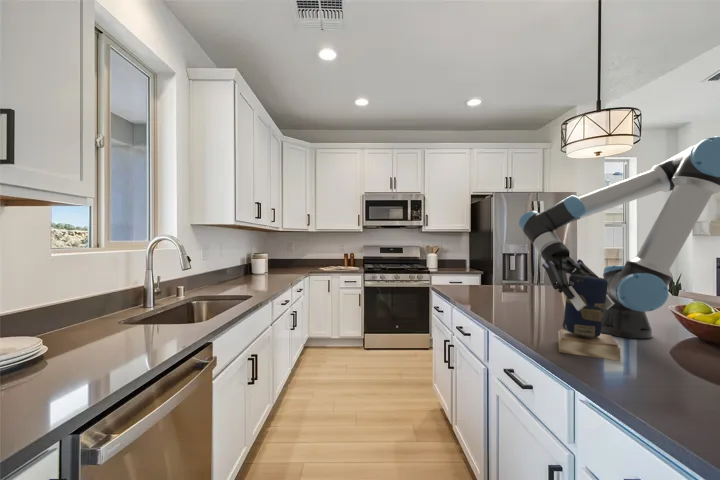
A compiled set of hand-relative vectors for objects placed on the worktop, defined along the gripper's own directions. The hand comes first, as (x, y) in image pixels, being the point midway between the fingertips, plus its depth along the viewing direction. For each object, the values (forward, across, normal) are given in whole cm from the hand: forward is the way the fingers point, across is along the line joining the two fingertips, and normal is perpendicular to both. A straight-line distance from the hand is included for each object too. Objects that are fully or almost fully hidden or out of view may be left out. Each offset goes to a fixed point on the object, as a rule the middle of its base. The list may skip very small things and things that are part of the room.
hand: (596, 307), depth 97 cm
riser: (+7, 0, -11) cm, 13 cm away
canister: (+3, +1, -9) cm, 10 cm away
